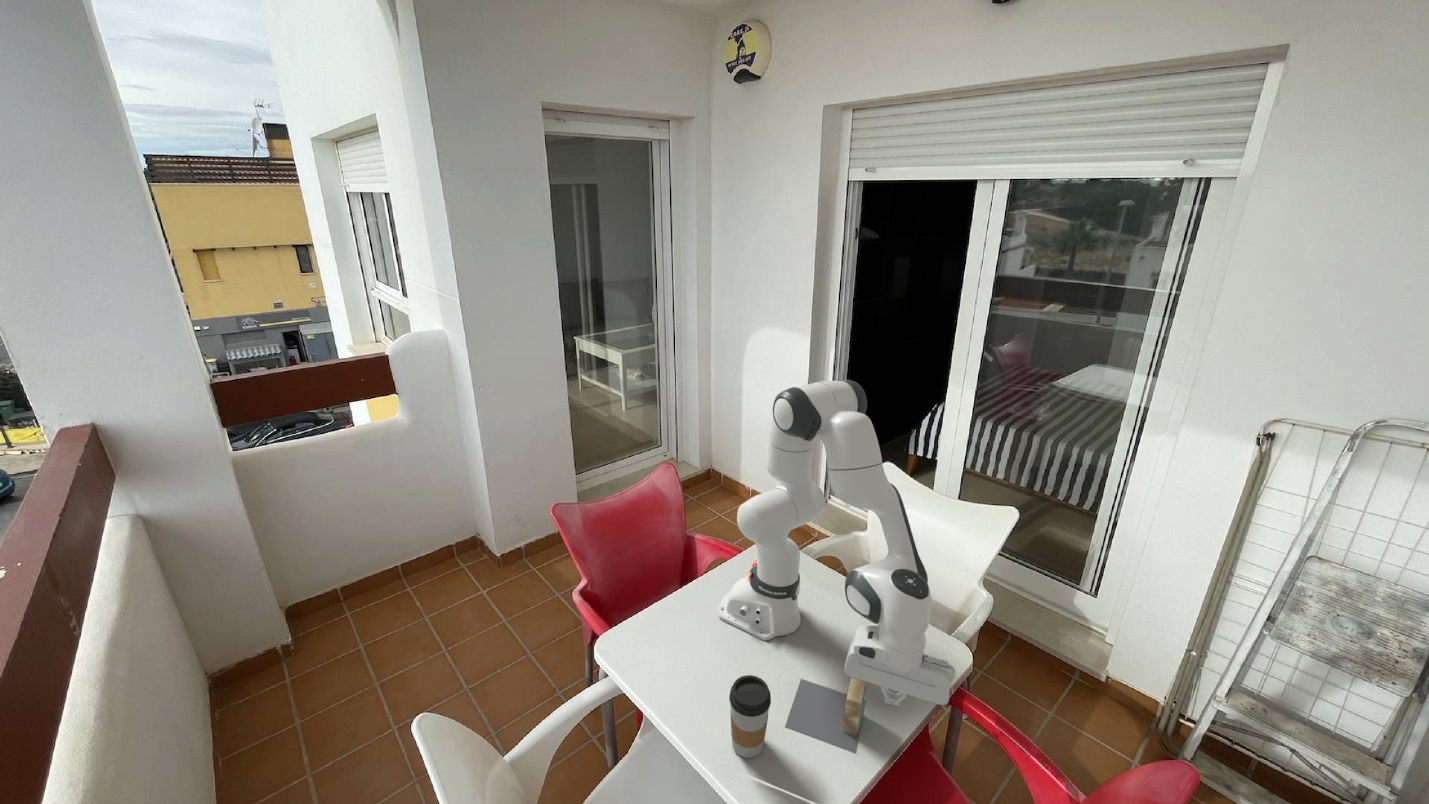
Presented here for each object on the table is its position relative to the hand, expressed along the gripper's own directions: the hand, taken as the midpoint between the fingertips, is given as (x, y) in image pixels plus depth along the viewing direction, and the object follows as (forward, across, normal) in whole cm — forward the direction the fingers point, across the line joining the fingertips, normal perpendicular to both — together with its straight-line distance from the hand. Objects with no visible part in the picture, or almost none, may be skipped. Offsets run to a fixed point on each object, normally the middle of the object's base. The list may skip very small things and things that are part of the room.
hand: (891, 702), depth 112 cm
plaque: (+9, +7, 0) cm, 12 cm away
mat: (+9, +13, 0) cm, 16 cm away
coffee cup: (+10, +26, +14) cm, 31 cm away
